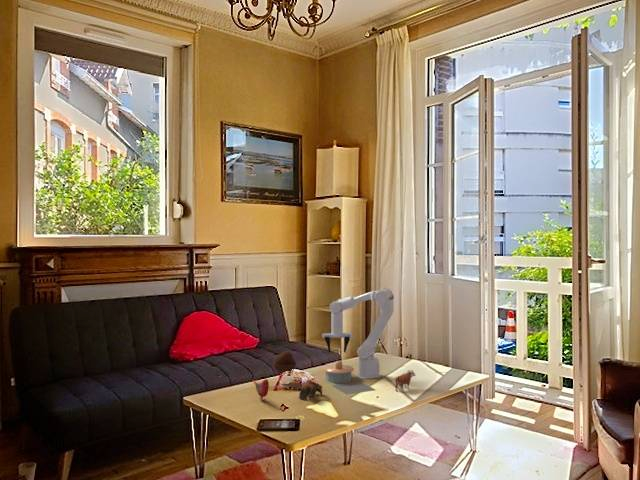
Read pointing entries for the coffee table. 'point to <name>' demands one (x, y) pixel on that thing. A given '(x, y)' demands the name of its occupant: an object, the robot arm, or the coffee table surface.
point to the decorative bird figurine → (262, 388)
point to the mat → (353, 387)
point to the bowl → (338, 377)
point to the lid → (338, 368)
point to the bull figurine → (404, 379)
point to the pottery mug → (310, 390)
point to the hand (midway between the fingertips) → (337, 352)
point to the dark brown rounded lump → (284, 362)
